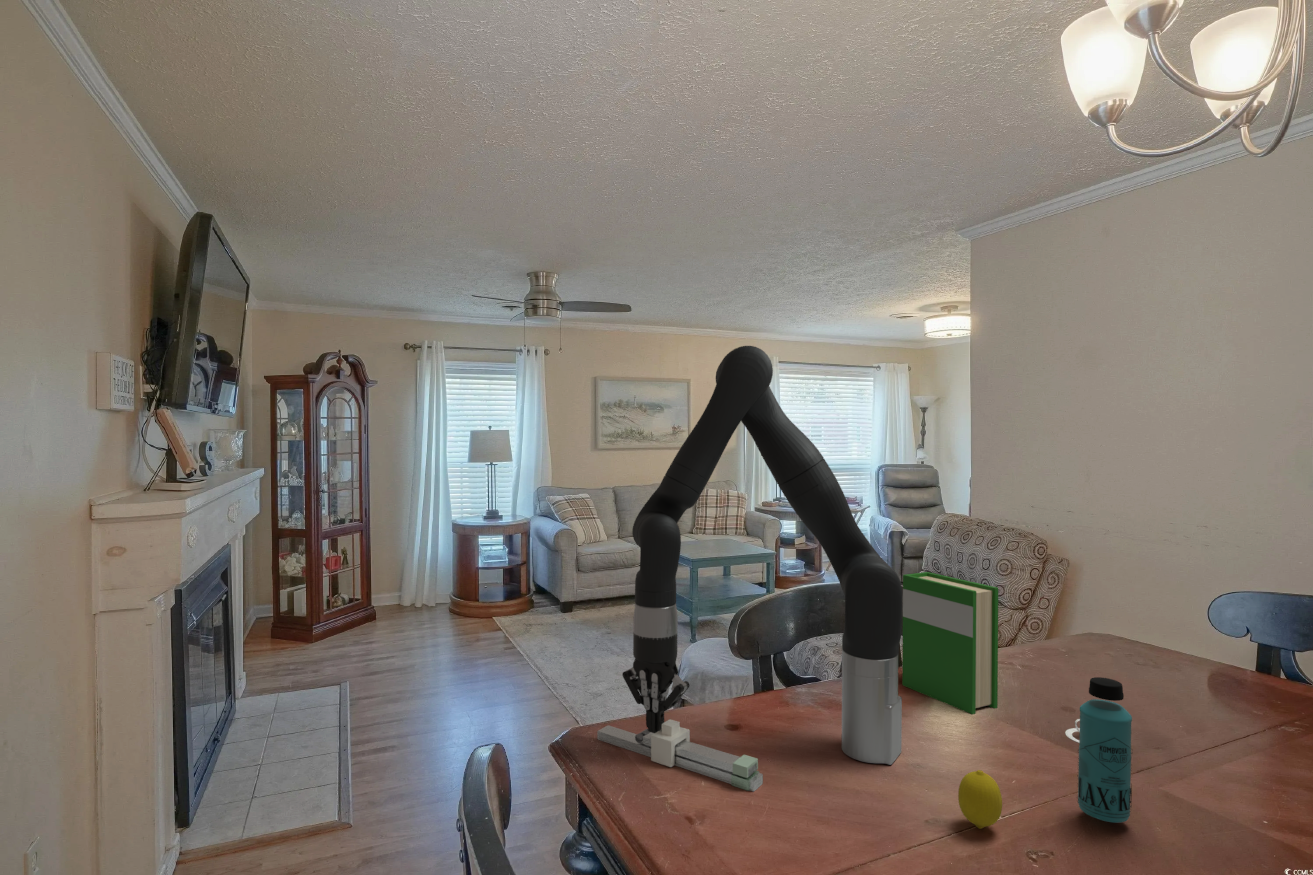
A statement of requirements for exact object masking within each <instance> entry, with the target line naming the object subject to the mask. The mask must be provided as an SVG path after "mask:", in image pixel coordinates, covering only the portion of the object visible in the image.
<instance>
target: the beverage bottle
mask: <svg viewBox="0 0 1313 875" xmlns="http://www.w3.org/2000/svg"><path fill="white" fill-rule="evenodd" d="M1088 693H1089V695H1091V696H1092V697H1095V699H1094V698H1093V699H1090V700H1087V701H1085V702H1084V703H1083V704H1081V705H1080V706H1079V712H1080V713H1079V719H1080V721H1079V728H1080V733H1079V739H1078V740H1079V743H1078V744H1079V746H1078V751H1077V753H1078V756H1077V762H1078V764H1077V767H1078V771H1077V774H1076V775H1077V788H1078V789H1077V797H1076V802H1077V804H1078V807H1079V809H1080V810H1081V811H1082V812H1083V813H1085V814H1086V815H1087V816H1090V817H1091V818H1095V819H1097V820H1099V821H1104V822H1109V823H1118V824H1119V823H1125V822H1127V821H1128V820H1129V818H1130V816H1131V815H1132V796H1133V795H1132V793H1133V792H1132V791H1133V789H1132V788H1133V787H1132V786H1133V785H1132V783H1131V781H1132V775H1133V774H1132V755H1133V749H1132V721H1133V717H1132V715H1131V714H1130V712H1129V711H1128V710H1127V709H1125V707H1123V706H1122V705H1121V704H1119V703H1117V702H1118V701H1122V700H1124V690H1123V684H1122V683H1121V682H1120V681H1119V680H1115V679H1112V678H1108V677H1101V676H1100V677H1099V676H1098V677H1097V676H1096V677H1092V678H1090V680H1089V686H1088ZM1113 701H1114V702H1113ZM1115 701H1117V702H1115Z"/></svg>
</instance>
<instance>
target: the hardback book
mask: <svg viewBox="0 0 1313 875" xmlns="http://www.w3.org/2000/svg"><path fill="white" fill-rule="evenodd" d="M901 662H902V663H901V664H902V665H901V666H902V671H901V672H902V674H901V676H902V679H901V680H902V682H901V684H902V686H904V687H906V688H908V689H911V690H913V691H915V692H918V693H920V694H922V695H924V696H927V697H930V698H932V699H934V700H936V701H939V702H941V703H944V704H946V705H948V706H951V707H954V708H956V709H958V710H960V711H963V712H965V713H968V714H969V715H975V714H977V713H976V709H979V708H982V707H986V706H987V707H989V708H992V709H997V708H999V707H998V706H999V705H998V699H999V698H998V697H999V696H998V694H999V693H998V692H999V691H998V690H999V688H998V686H999V684H998V683H999V681H998V679H999V678H998V677H999V674H998V672H999V587H997V586H992V585H988V584H983V583H979V582H973V581H969V580H964V579H960V578H956V577H950V576H946V575H943V574H938V573H934V572H929V571H925V572H924V571H923V572H916V573H908V574H902V661H901Z"/></svg>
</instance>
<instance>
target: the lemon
mask: <svg viewBox="0 0 1313 875" xmlns="http://www.w3.org/2000/svg"><path fill="white" fill-rule="evenodd" d="M959 783H960V784H959V787H958V791H957V792H958V795H957V797H958V799H957V800H958V805H959V809H960V811H961V812H962V814H963V816H964V817H965V819H966V820H968V821H969V822H970V823H972V824H973V825H974V826H975V827H976V828H978V829H981V830H982V829H983V828H985V827H991V826H993V825H994V824H996V823H997V822H998V821H999V819H1000V818H1001V815H1002V810H1003V797H1002V794H1001V790H1000V789H1001V788H1000V786H999V785H998V783H997V781H996V780H995V779H994V778H993V777H992V776H990V775H989V774H987V773H986V772H984V771H983V770H981V769H977V770H976V771H975V770H974V771H969V772H968V773H966V774H965V775H964V776H963V777H962V779H961V781H960V782H959Z"/></svg>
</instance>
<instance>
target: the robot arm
mask: <svg viewBox="0 0 1313 875" xmlns="http://www.w3.org/2000/svg"><path fill="white" fill-rule="evenodd" d="M773 372H774V369H773V363H772V361H771V358H770V357H769V356H768V354H767V353H766V351H764V350H763V349H761V348H759V347H757V346H754V345H742V346H739V347H735V348H734V349H732V350H731V351H729V352H728V353H727V354H726V355H725V356H724V357H723V359H722V360H721V361H720V363H719V365H718V367H717V369H716V373H715V384H716V385H715V387H714V389H713V393H712V395H711V397H710V399H709V401H708V402H707V404H706V407H705V409H704V411H703V412H702V414H701V416H700V417H699V419H698V421H697V423H696V424H695V425H694V427H693V428H692V430H691V432H690V433H689V434H688V436H687V438H685V440H684V442H683V444H682V445H681V447H680V448H679V450H678V451H677V453H676V455H675V457H674V458H673V460H672V462H671V463H670V466H668V469H667V471H666V472H665V474H664V476H663V478H662V480H661V482H660V484H659V485H658V487H657V489H655V491H653V493H652V494H651V496H649V498H648V499H647V501H646V503H644V505H643V506H642V508H641V509H640V511H639V512H638V514H637V516H636V517H635V520H634V522H633V525H632V531H631V532H632V533H631V534H632V538H633V541H634V542H635V544H636V545H637V546H638V547H639V548H640V549H639V550H640V551H639V552H640V555H639V556H640V557H639V559H640V560H639V570H638V571H637V572H636V575H635V581H634V610H633V624H632V625H633V629H632V630H633V632H632V634H633V636H632V638H633V642H632V648H633V649H632V655H633V658H634V661H633V663H632V667H630V668H629V669H626V670H624V671H623V672H622V678H623V679H624V683H626V685H627V687H628V688H629V689H628V690H629V691H630V693H631V694H632V697H633V698H634V700H635V703H637V704H638V705H642V706H643V708H644V709H645V726H646V729H648V731H649V732H652V733H656V732H658V731H659V730H661V729H662V724H663V723H664V722H665V712H666V711H668V710H670V709H671V708H674V707H675V705H676V704H677V703H678V702H679V701H680V699H682V697H683V696H684V694H685V693H686V692H687V691H688V689H689V688H690V683H689V681H688V680H685V681H683V680H682V678H681V677H680V676H679V669H678V666H677V658H678V626H679V625H678V624H679V623H678V622H679V621H678V619H679V618H678V611H677V609H678V608H677V573H678V569H679V563H680V557H681V556H680V555H681V549H682V548H681V547H682V537H681V530H680V527H679V525H678V522H679V521H680V519H681V518H682V516H683V515H684V513H685V512H686V511H687V510H689V509H691V508H693V507H694V505H695V504H696V503H697V502H698V501H699V498H700V497H701V495H702V493H703V491H704V490H705V487H706V486H707V485H708V483H709V481H710V478H711V477H712V475H713V473H714V471H715V470H716V467H717V465H718V463H719V461H720V459H721V458H722V455H723V454H724V451H725V449H726V447H727V445H728V444H729V442H730V440H731V438H732V436H733V435H734V433H735V432H736V429H737V428H738V426H739V425H740V423H742V425H744V427H745V428H746V430H747V432H748V433H749V434H750V436H751V438H752V440H753V442H754V443H755V445H756V447H757V449H758V451H759V453H760V455H761V458H762V459H763V461H764V463H765V464H766V466H767V468H768V470H769V472H770V473H771V475H772V476H773V479H774V480H775V482H776V484H777V485H778V488H779V489H780V491H781V492H782V494H783V495H784V498H785V499H786V500H787V502H788V503H789V505H790V507H791V508H792V509H793V511H794V512H795V513H796V515H797V517H798V518H799V519H800V520H801V521H802V523H803V524H804V525H805V527H807V529H808V530H809V531H810V533H811V534H812V535H813V536H814V537H815V538H816V540H817V541H818V543H819V544H820V546H821V547H822V549H823V552H824V553H825V555H826V556H827V559H828V561H829V563H830V564H831V566H832V568H833V570H834V573H835V575H836V577H837V580H838V582H839V585H840V587H841V590H842V592H843V594H844V627H843V628H844V629H843V633H842V639H841V644H842V645H841V646H842V649H841V654H842V655H841V658H842V659H841V664H842V665H841V737H840V738H841V750H842V751H843V754H845V755H847V756H848V757H849V758H851V759H853V760H857V761H860V762H863V763H869V764H885V765H892V764H893V763H895V761H896V760H897V758H898V757H899V756H900V754H901V753H902V741H903V739H902V738H903V737H902V734H903V732H902V729H903V727H902V726H903V725H902V723H903V722H902V720H903V718H902V715H903V708H902V707H903V706H902V705H903V702H902V701H903V698H902V696H900V695H899V648H900V646H899V644H900V642H901V638H902V631H903V585H902V581H901V579H900V577H899V575H898V574H897V572H896V571H895V570H894V569H893V568H892V567H891V566H890V565H889V564H888V562H886V561H885V560H884V559H883V558H882V557H881V555H880V554H879V553H878V552H877V551H876V549H875V547H874V546H872V544H871V543H870V542H869V540H868V539H867V538H866V536H865V535H864V533H863V531H862V530H861V529H860V527H859V525H858V523H857V522H856V520H855V518H854V515H853V513H852V510H851V508H850V506H849V503H848V500H847V497H846V496H845V493H844V491H843V489H842V487H841V485H840V483H839V481H838V478H836V475H835V474H834V472H833V471H832V469H831V467H830V466H829V464H828V462H827V461H826V460H825V458H824V456H823V455H822V453H821V452H820V450H819V449H818V447H817V446H816V445H815V444H814V443H813V441H811V439H810V438H809V437H808V436H807V435H806V434H805V433H804V432H803V431H801V429H800V428H799V427H797V426H796V424H794V422H792V420H791V419H789V417H788V416H787V414H786V413H785V412H784V410H783V409H782V407H781V406H780V404H779V402H778V401H777V398H776V396H775V394H774V392H773V391H772V388H771V386H770V385H771V382H772V379H773V374H774V373H773ZM670 687H671V688H670ZM670 689H671V691H670V693H669V690H670Z"/></svg>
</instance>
